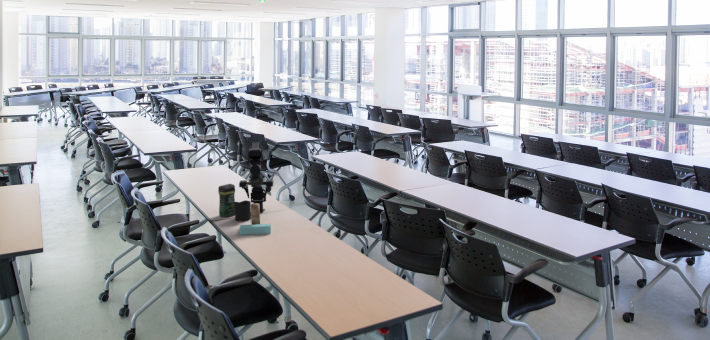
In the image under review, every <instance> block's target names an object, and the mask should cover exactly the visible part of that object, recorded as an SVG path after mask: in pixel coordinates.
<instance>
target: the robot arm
mask: <svg viewBox="0 0 710 340" xmlns="http://www.w3.org/2000/svg"><path fill="white" fill-rule="evenodd" d="M247 160H248V164H249V165H250V167H249V172H250V180H249V181H248V179H246V180H243V179H242V180H240V181H239V184H238V188H241V189H242V190H244V192H245V194H246V196H247V199H250V202H251V204H253V203H258V204H259V206H260V213H262V214H263V213H264V212H265V210H266V209H265V208H264V203H266V202H267V193H268V191H269V189H270V188H273V187H274V180H273V179H265V181H264V178H263V177H262V165H261V163H263V161H264V145H262V144H261V142H260V141H252V142H251V144H250V145H249V147H248V152H247ZM249 186H250V187H251V192H250V191H249ZM262 186H265V188H263V187H262Z"/></svg>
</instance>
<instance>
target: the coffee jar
mask: <svg viewBox="0 0 710 340" xmlns="http://www.w3.org/2000/svg"><path fill="white" fill-rule="evenodd" d="M217 191H218V195H219V208H218V214H219V216H220V217H222V218H224V217H225V218H229V217H232V216H235V211H234V202H236V201H235V200H236V199H235V194H236V186H235V184H232V183H226V184H223V185H219V186H218V190H217Z"/></svg>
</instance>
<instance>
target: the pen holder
mask: <svg viewBox="0 0 710 340" xmlns="http://www.w3.org/2000/svg"><path fill="white" fill-rule="evenodd" d="M251 204H252V203H251V200H242V201H235V202H234V211H235V215H234V219H235V220H236V221H237V222H246V221H249V220H251Z"/></svg>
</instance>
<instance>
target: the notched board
mask: <svg viewBox="0 0 710 340" xmlns="http://www.w3.org/2000/svg"><path fill="white" fill-rule="evenodd" d="M271 232H272V224H271V223H260V224H254V225H252V224H240V225H239V235H244V236H245V235H258V234H259V235H261V234H264V235H265V234H271Z"/></svg>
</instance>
